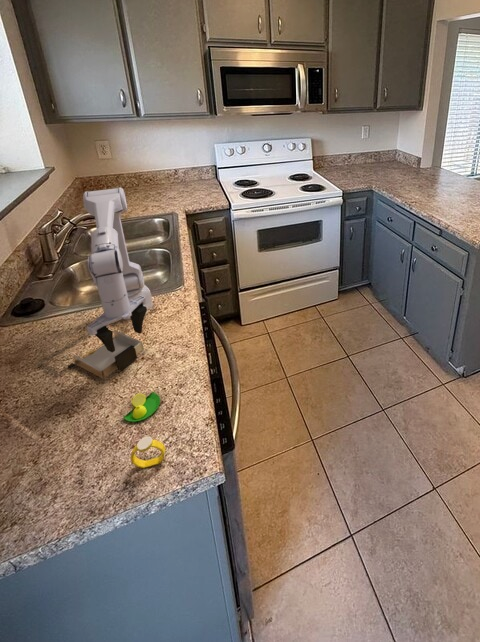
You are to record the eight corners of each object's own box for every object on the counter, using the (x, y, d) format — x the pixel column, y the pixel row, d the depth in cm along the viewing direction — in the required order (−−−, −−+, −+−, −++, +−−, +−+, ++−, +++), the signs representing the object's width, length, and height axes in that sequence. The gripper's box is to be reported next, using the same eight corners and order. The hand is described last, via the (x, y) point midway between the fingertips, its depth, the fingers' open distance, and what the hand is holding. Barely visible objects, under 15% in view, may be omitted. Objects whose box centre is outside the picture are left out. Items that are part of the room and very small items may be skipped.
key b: (93, 350, 102) (93, 349, 102) (95, 350, 101) (95, 349, 101) (78, 360, 99) (77, 359, 99) (80, 360, 98) (79, 359, 97)
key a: (107, 340, 106) (107, 339, 106) (110, 340, 105) (110, 339, 105) (94, 349, 102) (93, 349, 102) (96, 350, 101) (96, 349, 101)
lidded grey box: (75, 365, 97) (70, 350, 95) (116, 338, 107) (113, 323, 105) (108, 383, 91) (104, 367, 89) (149, 353, 101) (145, 338, 99)
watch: (168, 453, 74) (163, 432, 72) (165, 466, 71) (160, 445, 69) (136, 460, 72) (130, 439, 70) (133, 474, 70) (126, 452, 68)
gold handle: (68, 369, 96) (67, 365, 95) (120, 335, 108) (119, 332, 108) (71, 370, 95) (70, 367, 95) (123, 336, 108) (122, 333, 107)
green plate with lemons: (117, 409, 84) (115, 400, 83) (151, 388, 89) (149, 379, 88) (131, 430, 79) (128, 420, 78) (166, 406, 84) (164, 397, 83)
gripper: (94, 316, 80) (108, 364, 84) (150, 285, 92) (159, 328, 96) (76, 308, 83) (89, 355, 87) (132, 279, 95) (141, 321, 99)
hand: (125, 340), depth 92 cm, fingers open, 7 cm apart
